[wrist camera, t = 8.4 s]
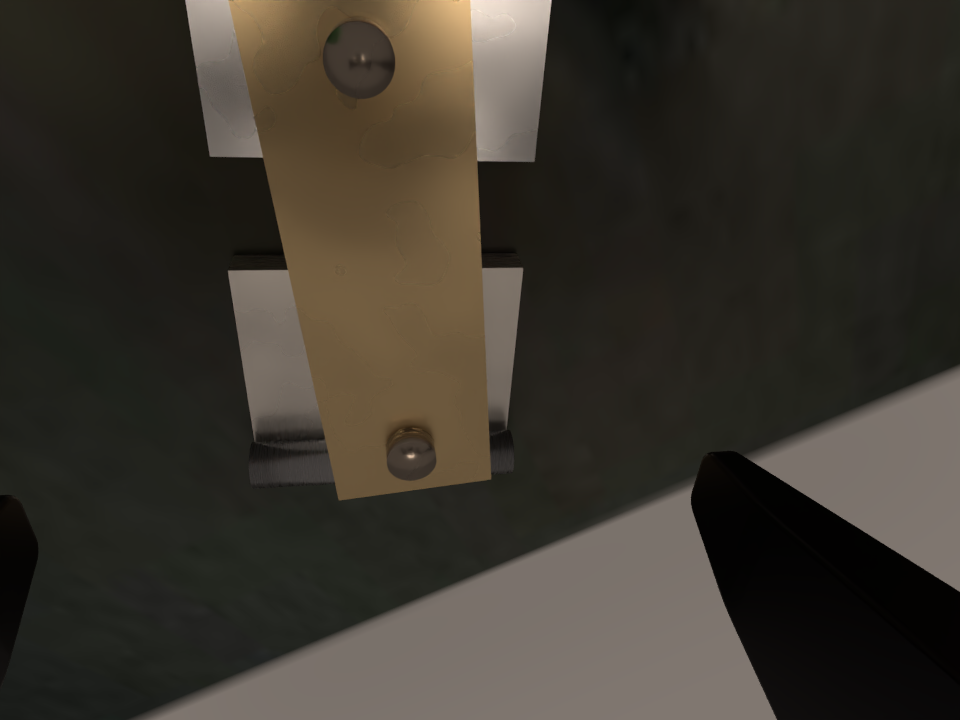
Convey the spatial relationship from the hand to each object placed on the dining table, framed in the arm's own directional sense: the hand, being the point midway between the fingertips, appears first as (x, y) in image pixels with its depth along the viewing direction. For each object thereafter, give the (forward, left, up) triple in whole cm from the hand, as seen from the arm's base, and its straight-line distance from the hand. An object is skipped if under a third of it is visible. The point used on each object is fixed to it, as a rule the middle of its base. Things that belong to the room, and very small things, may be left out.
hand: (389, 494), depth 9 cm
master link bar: (0, 0, -10) cm, 10 cm away
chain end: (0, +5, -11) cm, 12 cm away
